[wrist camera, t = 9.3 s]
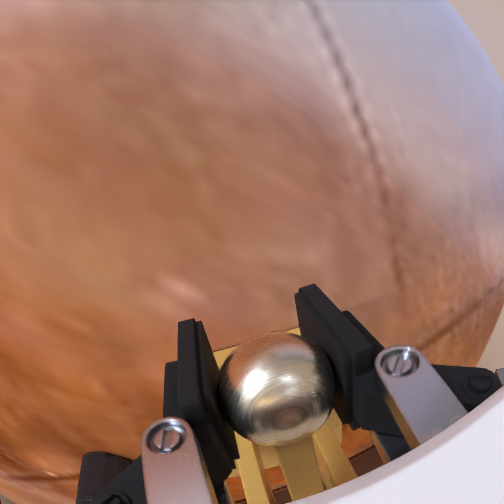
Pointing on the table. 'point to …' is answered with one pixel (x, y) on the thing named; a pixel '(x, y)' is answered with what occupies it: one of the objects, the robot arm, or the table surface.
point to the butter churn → (98, 474)
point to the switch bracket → (263, 457)
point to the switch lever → (280, 401)
